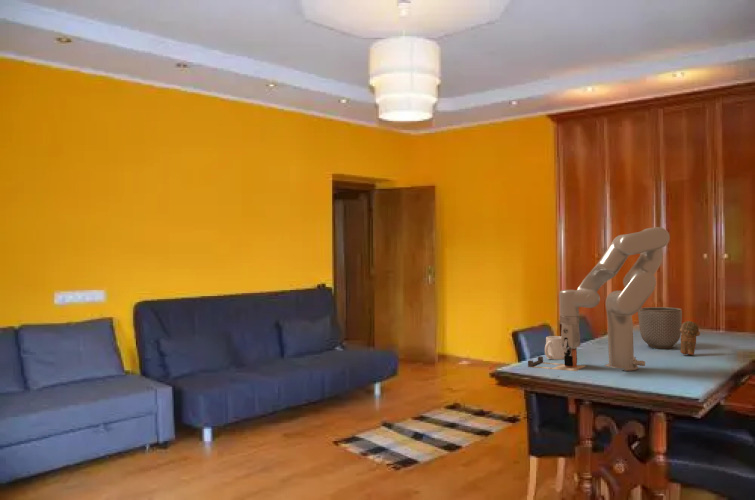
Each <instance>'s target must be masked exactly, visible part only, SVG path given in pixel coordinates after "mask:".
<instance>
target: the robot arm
mask: <svg viewBox="0 0 755 500" xmlns="http://www.w3.org/2000/svg"><path fill="white" fill-rule="evenodd" d="M670 238H671V237H670V232H668V230H667V229H666V228H664V227H660V226H657V227H656V226H655V227H654V226H653V227H648V228H644V229H642V230H641V231H638V232H637V231H636V232H632V233H626V234H619V235H617V236H616V237H614V239H613V240H612V241H611V243H610V244H609V246H608V247H607V249H606V250H605V252H604V253H603V255H602V256H601V258H600V259H599V260H598V262H597V264H596V265H595V266H593V268H592V269H591V271H589V273H588V274H586V276H585V277H584V279H583V280H582V281H581V283H580V284H579V285H578V287H577V289H562V290H560V291H559V293H558V294H559V295H558V296H559V297H558V298H559V324H560V325H561V333H560V335H561V344H562V347H563V351H564V359H563V360H564V364H565V366H573V356H572V349H576V359H577V360H578V356H577V355H578V351H577V349H578V348H579V347H581V335H580V326H579V324H580V308H588V309H591V308H596V307H597V306H598V305H599V304H600V301H601V297H600V294H599V293H598V291H599V290H600V288H601V287H602V286H603V285H604V284H606V283H607V282H608V281H610V280H612V279H613V278H614V277H616V276H617V275H618V273H619V271H620V270H621V268H622V267H623V266H624V264H625V262H626V261H627V259H628V257H630V256H634V255H639V257H638V258H637V259H636V260H635V262H634V264H633V265H632V266H631V268H630V269H629V271H628V272H627V273H626V274H625V276H624V277H623V280H622V284H623V287H624V288H623V290H613V291H611V292H610V293H609V294H608V295H607V296H606V298H605V310H606V319H607V320H606V321H607V343H608V346H607V347H608V363H607V364H605V365H604V366H605V367H608V368H612V369H613V368H615V369H623V370H622V371H621V372H628V371H629V372H630V371H631V372H633V371H637V370H639V367H641V366H642V367H646V361H645V360H638V359H637V357H636V356H635V355H634V354H635V353H634V352H635V351H634V324H633V317H632V316H633V315H636V314H637V313H638V310H639V309H640V308H643V306H644V304H645V303H646V302H647V300H648V299H649V298H650V296H651V295H652V294H653V292H654V291H655V289H656V286H657V278H656V276H655V274H656V273H657V271H658V270H659V268H660V266H661V265H662V262H663V257H664V256H663V248H665V247H666V246H667V245H668V244H669V243H670ZM569 350H570V352H569Z"/></svg>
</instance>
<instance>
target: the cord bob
mask: <svg viewBox="0 0 755 500" xmlns="http://www.w3.org/2000/svg"><path fill="white" fill-rule="evenodd" d="M569 352H570V350H569ZM572 356H573V366H565V367H577V365H578V358H577V359H576V349H572Z"/></svg>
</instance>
